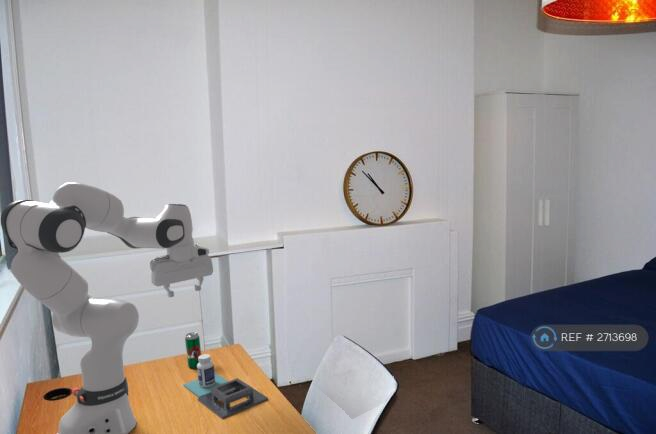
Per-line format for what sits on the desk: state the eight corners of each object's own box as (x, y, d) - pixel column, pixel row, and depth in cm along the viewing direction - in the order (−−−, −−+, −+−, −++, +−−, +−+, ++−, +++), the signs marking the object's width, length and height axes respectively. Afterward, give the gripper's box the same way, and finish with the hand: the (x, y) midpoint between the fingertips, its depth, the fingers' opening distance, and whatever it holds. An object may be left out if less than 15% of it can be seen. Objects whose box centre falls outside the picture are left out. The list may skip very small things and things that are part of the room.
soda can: (205, 363, 197) (201, 332, 195) (196, 369, 193) (193, 337, 191) (194, 362, 199) (190, 331, 197) (185, 367, 195) (181, 336, 193)
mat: (199, 397, 171) (199, 396, 171) (183, 385, 180) (183, 384, 180) (232, 385, 179) (232, 383, 178) (215, 374, 188) (215, 372, 188)
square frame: (222, 418, 157) (220, 406, 157) (197, 400, 170) (196, 388, 169) (268, 399, 167) (267, 387, 167) (242, 383, 180) (241, 371, 179)
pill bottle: (217, 380, 182) (214, 352, 180) (212, 387, 176) (209, 359, 175) (202, 380, 182) (199, 353, 181) (196, 388, 177) (193, 360, 176)
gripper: (153, 259, 167) (157, 302, 169) (213, 248, 179) (216, 288, 181) (145, 256, 172) (150, 298, 174) (205, 246, 184) (208, 285, 186)
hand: (184, 293), depth 178 cm, fingers open, 8 cm apart
